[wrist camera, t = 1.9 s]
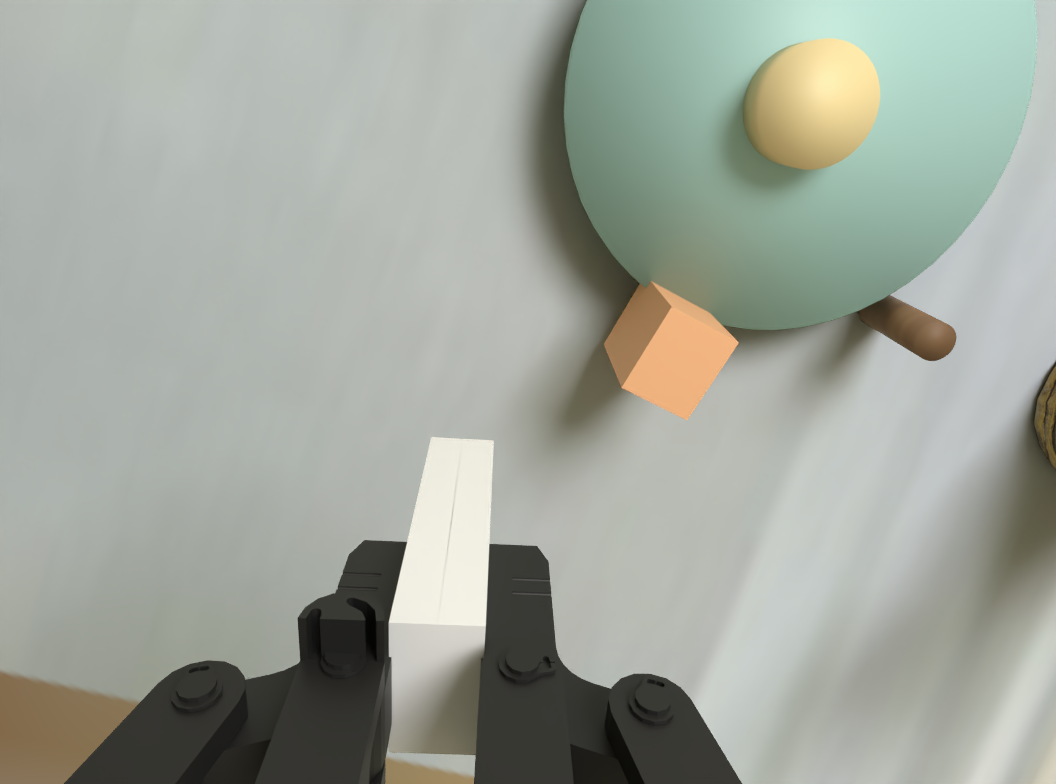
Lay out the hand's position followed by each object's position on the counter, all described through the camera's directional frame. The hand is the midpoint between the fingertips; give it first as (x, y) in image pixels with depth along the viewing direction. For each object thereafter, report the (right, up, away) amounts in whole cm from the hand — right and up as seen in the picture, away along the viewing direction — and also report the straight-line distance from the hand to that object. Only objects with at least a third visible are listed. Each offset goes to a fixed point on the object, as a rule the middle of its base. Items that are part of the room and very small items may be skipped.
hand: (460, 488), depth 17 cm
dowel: (+18, +6, +16) cm, 25 cm away
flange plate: (+11, +13, +12) cm, 20 cm away
